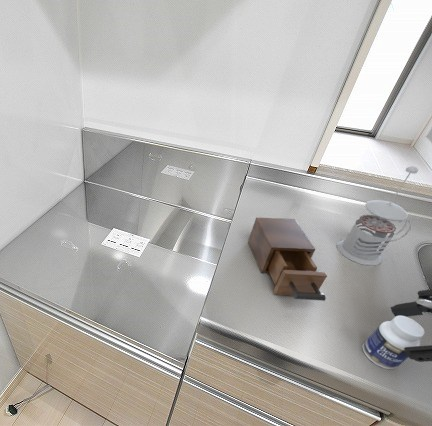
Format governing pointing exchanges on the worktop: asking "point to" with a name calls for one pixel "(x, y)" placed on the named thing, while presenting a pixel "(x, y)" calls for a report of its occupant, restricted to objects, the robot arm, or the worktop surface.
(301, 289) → the drawer
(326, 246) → the worktop surface
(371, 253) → the french press
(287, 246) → the cabinet
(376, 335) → the pill bottle
